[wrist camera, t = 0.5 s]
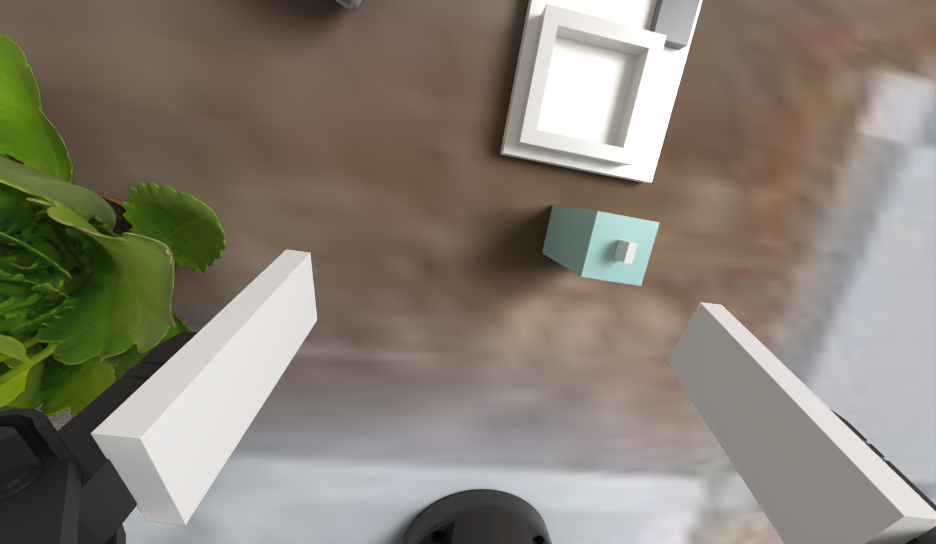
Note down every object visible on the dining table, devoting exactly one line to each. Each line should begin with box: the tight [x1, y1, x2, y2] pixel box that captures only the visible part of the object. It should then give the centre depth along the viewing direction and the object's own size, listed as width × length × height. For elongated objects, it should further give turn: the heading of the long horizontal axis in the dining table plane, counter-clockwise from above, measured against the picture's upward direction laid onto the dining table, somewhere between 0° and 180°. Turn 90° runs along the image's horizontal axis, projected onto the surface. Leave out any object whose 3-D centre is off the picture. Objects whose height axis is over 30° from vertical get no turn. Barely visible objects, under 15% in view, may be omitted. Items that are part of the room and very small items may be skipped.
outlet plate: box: [500, 0, 703, 183], centre depth 25 cm, size 14×12×3 cm
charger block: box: [542, 205, 659, 286], centre depth 25 cm, size 4×4×9 cm
